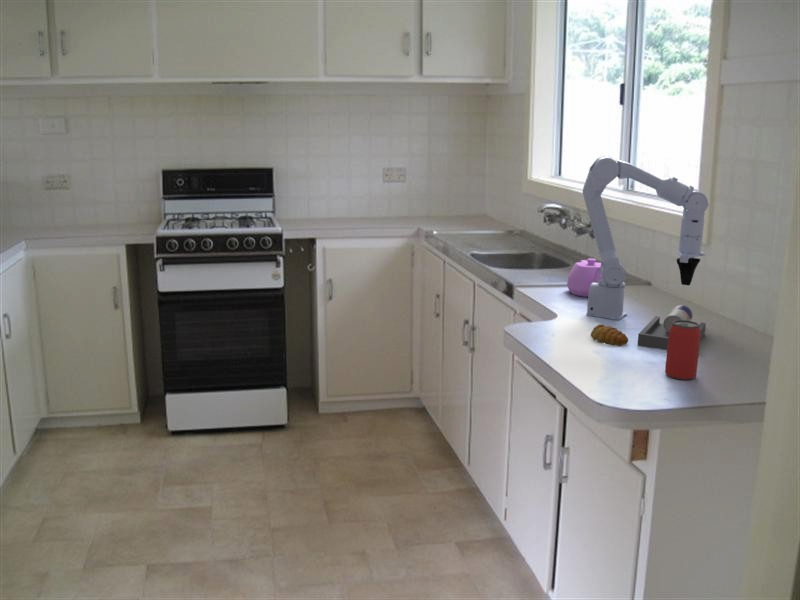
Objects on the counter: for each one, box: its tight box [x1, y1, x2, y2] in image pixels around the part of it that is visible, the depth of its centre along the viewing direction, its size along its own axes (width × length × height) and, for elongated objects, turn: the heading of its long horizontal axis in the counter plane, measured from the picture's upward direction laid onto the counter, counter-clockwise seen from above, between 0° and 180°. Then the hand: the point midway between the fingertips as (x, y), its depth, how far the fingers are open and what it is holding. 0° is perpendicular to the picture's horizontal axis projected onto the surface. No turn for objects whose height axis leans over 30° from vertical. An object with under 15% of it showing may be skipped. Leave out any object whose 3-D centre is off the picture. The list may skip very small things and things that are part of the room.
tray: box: [637, 316, 707, 351], centre depth 208 cm, size 13×20×3 cm, turn 152°
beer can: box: [664, 320, 701, 381], centre depth 179 cm, size 7×7×12 cm
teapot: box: [566, 258, 602, 298], centre depth 254 cm, size 13×20×11 cm, turn 4°
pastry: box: [590, 323, 629, 347], centre depth 205 cm, size 9×7×4 cm
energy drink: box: [662, 304, 693, 333], centre depth 212 cm, size 5×5×12 cm
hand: (685, 284), depth 225 cm, fingers closed
